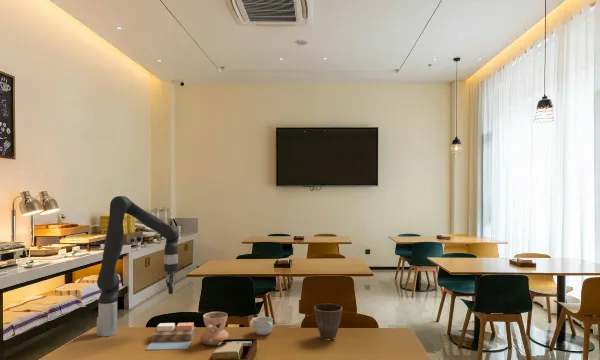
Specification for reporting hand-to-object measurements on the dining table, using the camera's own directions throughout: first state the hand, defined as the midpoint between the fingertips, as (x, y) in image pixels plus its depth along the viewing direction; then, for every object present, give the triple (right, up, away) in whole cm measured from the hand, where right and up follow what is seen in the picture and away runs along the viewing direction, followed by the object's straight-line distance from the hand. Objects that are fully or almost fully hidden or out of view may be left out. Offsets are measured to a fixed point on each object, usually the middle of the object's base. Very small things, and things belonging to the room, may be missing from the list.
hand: (170, 293), depth 225 cm
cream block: (+1, -16, -10) cm, 19 cm away
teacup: (+52, -21, -5) cm, 57 cm away
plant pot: (+87, -21, -11) cm, 90 cm away
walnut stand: (+6, -20, -12) cm, 24 cm away
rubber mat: (+6, -20, -23) cm, 31 cm away
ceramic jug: (+29, -20, -18) cm, 39 cm away
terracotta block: (+11, -16, -9) cm, 21 cm away
